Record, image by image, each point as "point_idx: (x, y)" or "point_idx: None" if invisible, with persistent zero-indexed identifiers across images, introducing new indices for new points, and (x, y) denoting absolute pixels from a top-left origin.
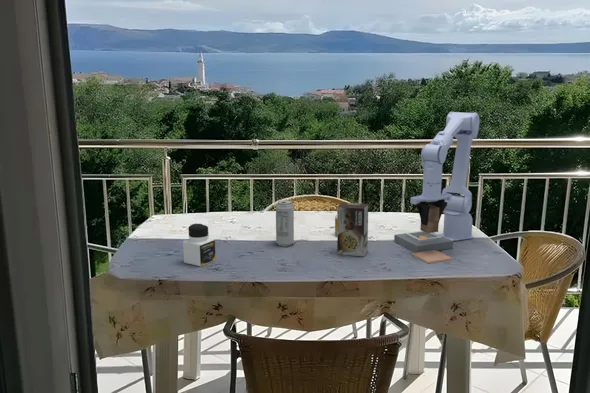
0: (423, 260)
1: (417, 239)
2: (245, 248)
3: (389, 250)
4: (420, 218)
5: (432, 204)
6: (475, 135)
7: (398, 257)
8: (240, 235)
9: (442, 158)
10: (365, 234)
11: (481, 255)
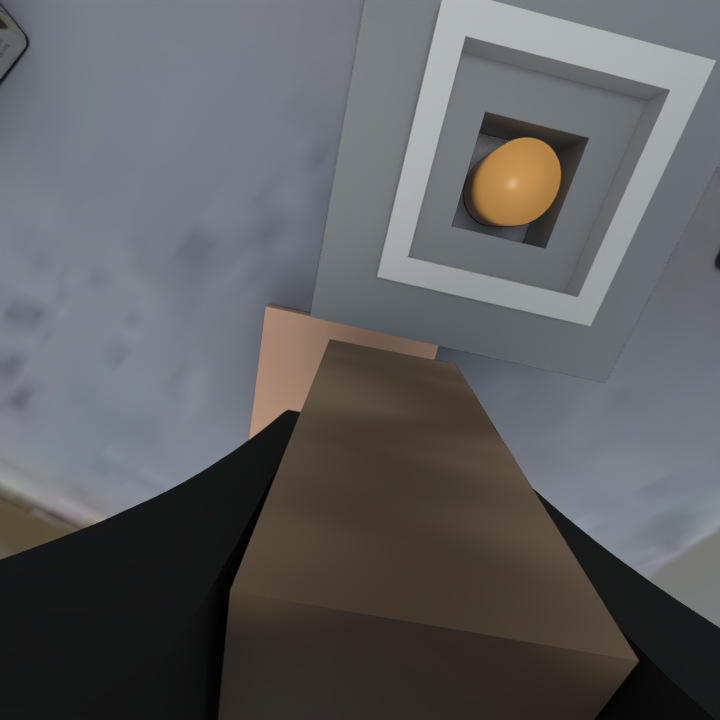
0: (253, 414)
1: (385, 242)
2: None
3: (199, 134)
4: (254, 436)
5: (664, 691)
6: None
7: (170, 288)
8: None
9: None
10: None
11: (568, 513)
